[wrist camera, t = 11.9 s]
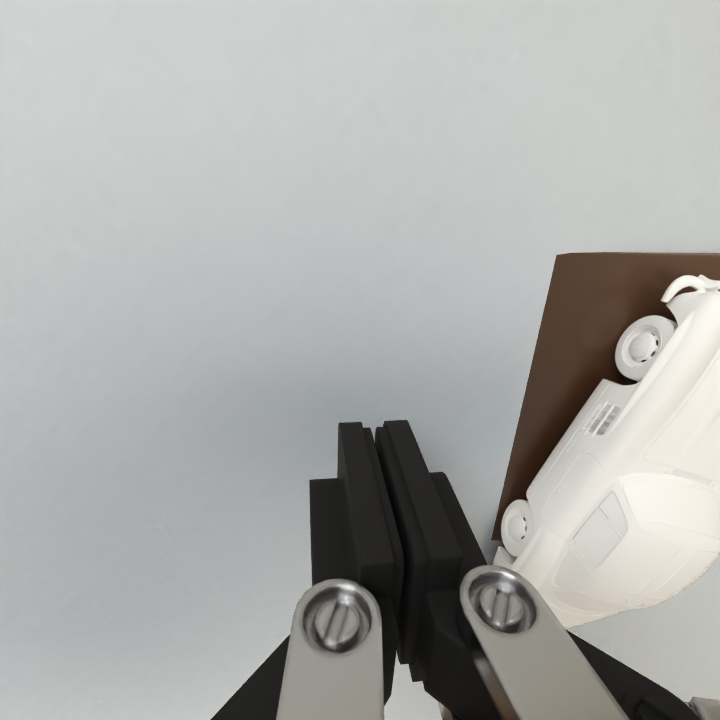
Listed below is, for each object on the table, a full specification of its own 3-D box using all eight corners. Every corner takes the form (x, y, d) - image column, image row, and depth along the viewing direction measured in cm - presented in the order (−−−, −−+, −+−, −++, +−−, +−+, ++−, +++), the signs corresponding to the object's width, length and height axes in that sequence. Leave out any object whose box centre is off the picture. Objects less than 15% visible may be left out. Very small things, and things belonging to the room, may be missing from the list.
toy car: (797, 318, 12) (964, 375, 9) (565, 597, 16) (621, 701, 13) (659, 258, 11) (793, 299, 8) (453, 574, 15) (485, 680, 12)
